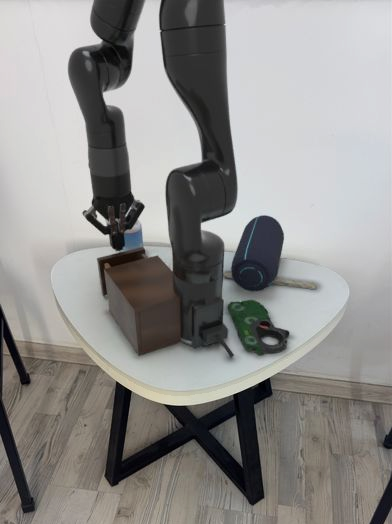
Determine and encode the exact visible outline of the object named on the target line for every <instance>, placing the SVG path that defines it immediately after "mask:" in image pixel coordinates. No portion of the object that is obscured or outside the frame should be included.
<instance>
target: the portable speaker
mask: <svg viewBox="0 0 392 524" xmlns="http://www.w3.org/2000/svg"><path fill="white" fill-rule="evenodd" d="M284 241H285V233H284V231H283V227H282V226H281V223H280V222H279V221H278V220H277V219H276V218H275V217H273V216H270V215H265V214H263V215H258V216H256V217H253V218H252V219H251V220H250V221H249V222H248V223H247V224H246V225H245V227H244V229H243V232H242V234H241V237H240V240H239V242H238V244H237V248H236V250H235V253H234V256H233V258H232V262H231V266H230V272H231V273H232V277H233V278H232V279H233V281H234V283H235V284H236V285H237V286H238V287H239V288H241V289H243V290H244V291H249V292H261V291H264V290H266V289H267V288H270V287H271V285H273V284H272V283H273V282H274V280H275V278H277V276H278V273H279V268H280V261H281V257H282V252H283V246H284Z"/></svg>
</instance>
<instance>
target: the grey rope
mask: <svg viewBox="0 0 392 524" xmlns="http://www.w3.org/2000/svg"><path fill="white" fill-rule="evenodd" d="M223 277H224V278H227V279H233V277H232V273H231V271H228V272H225V273H223ZM271 285H279V286H287V287H293V288H302V289H308V290H315V289H317V287H318V285H317V283H314V282H310V281H309V282H308V281H301V280H299V281H298V280H292V279H286V278H285V279H284V278H278V277H276V278H275V280H274V282H273V283H272V284H271Z"/></svg>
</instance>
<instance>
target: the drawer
mask: <svg viewBox="0 0 392 524" xmlns="http://www.w3.org/2000/svg"><path fill="white" fill-rule="evenodd" d="M146 253H147V252H146V248H145V247H144V246H143V247H141V248H136V249H132V250H128V251H124V252H120V253H119V252H116V253H112V254H107V255H104V256H100V257H97V258H96V261H97V262H96V263H97V270H98V275H99V276H98V277H99V283H100V290H101V291H100V292H101V295H102V296H103V297H105V296H107V289H106V281H105V274H104V269H106V268H110V267H114V266H118V265H122V264H126V263H129V262H133V261H137V260H141V259H145V258H149V256H148V255H147V254H146Z"/></svg>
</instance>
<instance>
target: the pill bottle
mask: <svg viewBox="0 0 392 524" xmlns="http://www.w3.org/2000/svg"><path fill="white" fill-rule="evenodd" d="M130 209H131V208H130ZM130 209H129V211H130ZM129 211H128V212H127V214H128V213H129ZM127 214H126V216H127ZM124 238H125V246H124V247H123V250H120V251H118V253H120V252H124V251H128V250H132V249H136V248H141V247H144V237H143V226H142V222H141V221H140V220H139V219H138V220H137V221H136V223H135V225H134V226H133V228H132V229H131V230H126V231H125V233H124Z"/></svg>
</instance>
